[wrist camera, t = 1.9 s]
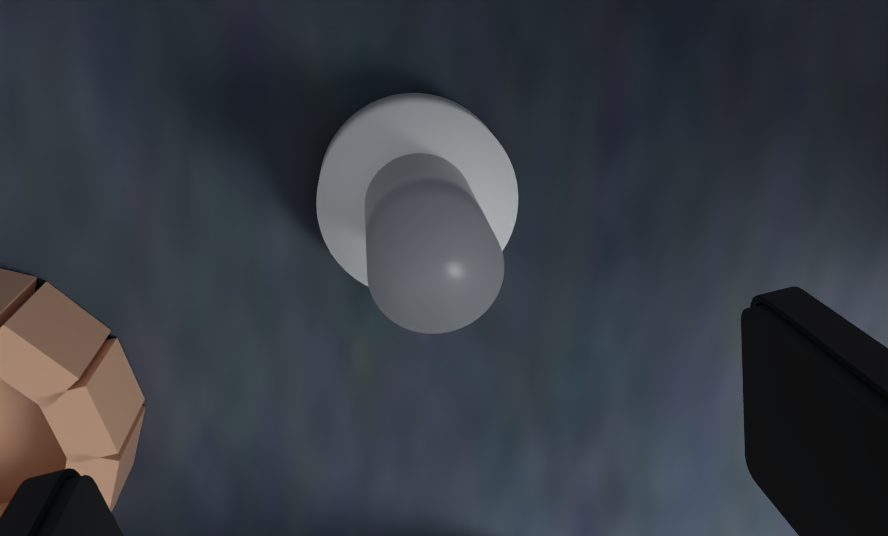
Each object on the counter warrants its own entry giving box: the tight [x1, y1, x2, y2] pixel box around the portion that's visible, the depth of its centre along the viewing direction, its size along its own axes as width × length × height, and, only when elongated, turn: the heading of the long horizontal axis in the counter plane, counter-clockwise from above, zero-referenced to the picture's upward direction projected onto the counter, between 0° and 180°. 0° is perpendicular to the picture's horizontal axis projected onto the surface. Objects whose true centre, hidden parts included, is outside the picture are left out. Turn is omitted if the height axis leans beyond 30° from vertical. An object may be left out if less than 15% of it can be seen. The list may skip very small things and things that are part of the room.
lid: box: [316, 93, 518, 334], centre depth 20 cm, size 6×6×7 cm
